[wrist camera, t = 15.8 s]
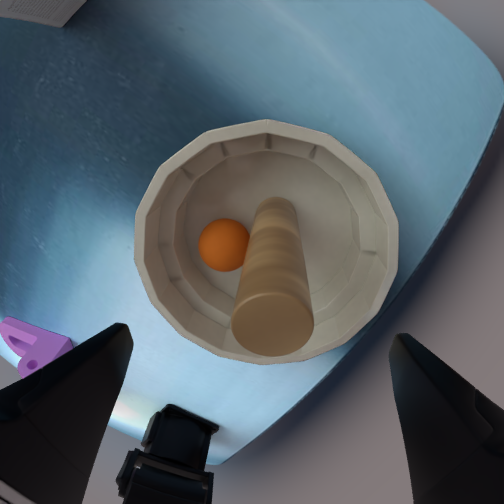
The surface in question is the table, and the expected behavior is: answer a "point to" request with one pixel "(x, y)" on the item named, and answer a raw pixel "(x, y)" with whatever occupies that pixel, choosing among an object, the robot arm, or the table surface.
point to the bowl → (243, 211)
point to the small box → (41, 10)
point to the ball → (224, 244)
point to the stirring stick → (273, 285)
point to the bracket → (33, 344)
